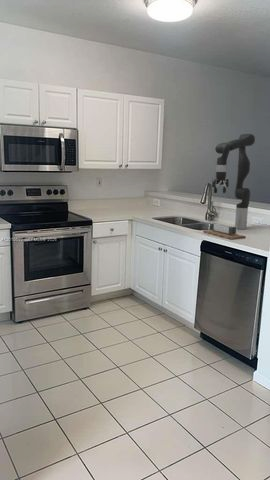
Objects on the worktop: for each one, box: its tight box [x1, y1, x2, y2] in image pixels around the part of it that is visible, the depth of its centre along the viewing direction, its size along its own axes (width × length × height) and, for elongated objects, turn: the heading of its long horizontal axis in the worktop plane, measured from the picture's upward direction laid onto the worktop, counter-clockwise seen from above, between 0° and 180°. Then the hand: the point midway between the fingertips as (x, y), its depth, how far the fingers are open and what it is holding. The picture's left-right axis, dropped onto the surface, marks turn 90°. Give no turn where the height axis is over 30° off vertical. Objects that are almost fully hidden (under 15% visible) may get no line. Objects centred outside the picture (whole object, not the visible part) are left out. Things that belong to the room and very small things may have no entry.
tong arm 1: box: [214, 223, 235, 235], centre depth 284 cm, size 20×2×5 cm, turn 30°
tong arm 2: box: [215, 222, 237, 234], centre depth 286 cm, size 20×2×5 cm, turn 30°
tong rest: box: [202, 222, 247, 241], centre depth 286 cm, size 30×14×8 cm, turn 30°
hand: (219, 192), depth 293 cm, fingers open, 8 cm apart
